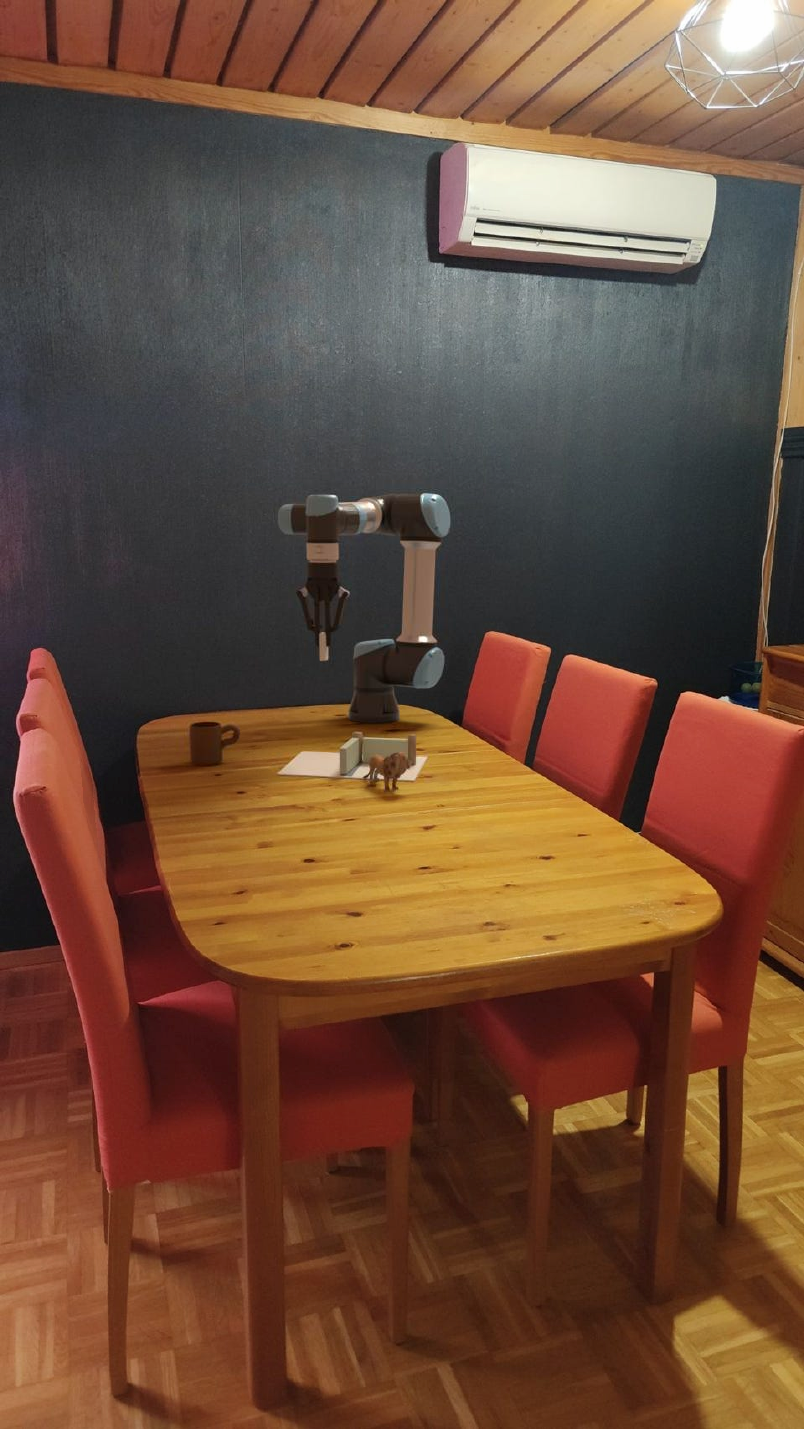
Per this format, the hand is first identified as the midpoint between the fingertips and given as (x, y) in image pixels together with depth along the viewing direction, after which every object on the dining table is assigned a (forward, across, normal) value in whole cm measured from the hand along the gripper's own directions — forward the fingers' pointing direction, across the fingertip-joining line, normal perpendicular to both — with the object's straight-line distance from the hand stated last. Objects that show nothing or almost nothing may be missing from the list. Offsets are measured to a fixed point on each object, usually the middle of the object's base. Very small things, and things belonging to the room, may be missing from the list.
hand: (324, 659), depth 233 cm
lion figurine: (+25, +20, -23) cm, 39 cm away
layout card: (+24, +9, -7) cm, 27 cm away
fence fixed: (+24, +16, -4) cm, 29 cm away
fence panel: (+24, +9, -11) cm, 28 cm away
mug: (+25, -25, -9) cm, 36 cm away
